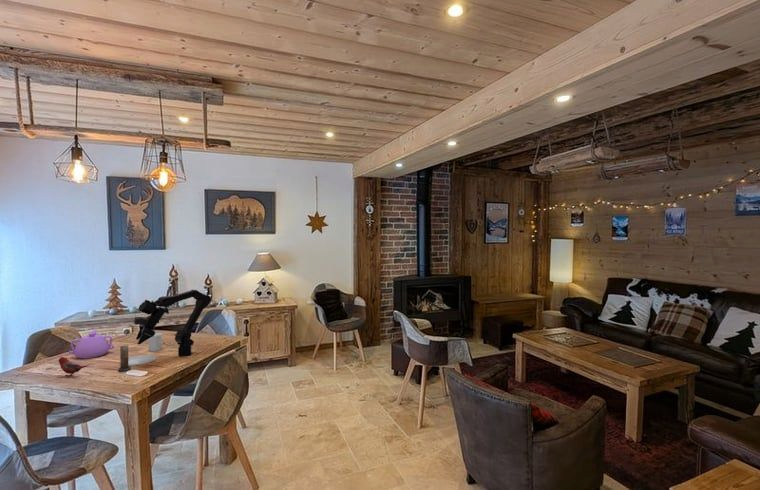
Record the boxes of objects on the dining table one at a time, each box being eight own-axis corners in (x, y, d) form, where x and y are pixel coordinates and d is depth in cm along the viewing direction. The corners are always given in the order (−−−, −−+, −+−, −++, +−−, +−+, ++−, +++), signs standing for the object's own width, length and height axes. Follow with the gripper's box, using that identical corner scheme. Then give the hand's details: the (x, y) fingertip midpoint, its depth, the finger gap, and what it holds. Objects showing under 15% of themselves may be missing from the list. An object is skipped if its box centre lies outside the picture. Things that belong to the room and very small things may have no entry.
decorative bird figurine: (60, 374, 192) (60, 355, 192) (91, 376, 190) (91, 357, 190) (55, 376, 189) (55, 357, 189) (86, 378, 187) (86, 358, 187)
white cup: (155, 352, 232) (155, 336, 232) (144, 351, 233) (144, 335, 233) (165, 348, 239) (164, 333, 239) (154, 347, 241) (154, 332, 241)
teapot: (115, 347, 242) (115, 326, 241) (113, 356, 223) (113, 333, 223) (72, 353, 230) (72, 331, 229) (66, 362, 211) (66, 338, 211)
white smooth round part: (159, 354, 226) (159, 353, 226) (152, 364, 209) (152, 362, 209) (125, 358, 220) (125, 356, 220) (115, 367, 203) (115, 366, 203)
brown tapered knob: (131, 367, 203) (131, 344, 203) (129, 371, 198) (128, 347, 197) (120, 369, 201) (119, 345, 201) (116, 372, 196) (116, 348, 196)
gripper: (139, 307, 214) (121, 331, 210) (143, 314, 200) (124, 340, 195) (158, 315, 220) (141, 339, 216) (162, 323, 206) (144, 348, 201)
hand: (137, 341), depth 207 cm, fingers open, 9 cm apart
